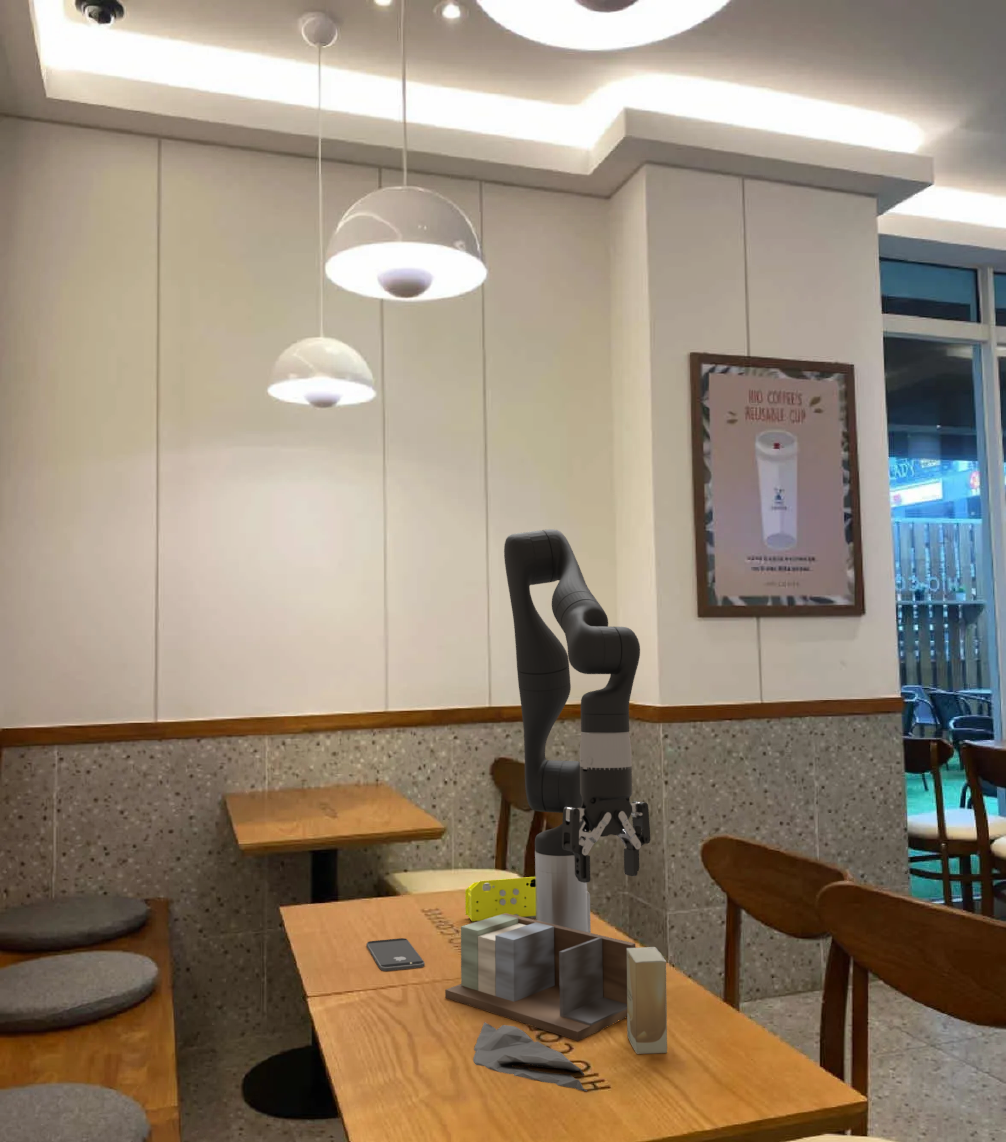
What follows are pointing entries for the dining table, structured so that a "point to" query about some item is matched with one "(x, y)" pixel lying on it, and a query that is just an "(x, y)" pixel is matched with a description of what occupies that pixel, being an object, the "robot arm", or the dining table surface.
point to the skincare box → (646, 1000)
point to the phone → (394, 954)
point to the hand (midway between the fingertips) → (607, 878)
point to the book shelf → (551, 997)
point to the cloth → (522, 1056)
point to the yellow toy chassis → (501, 898)
